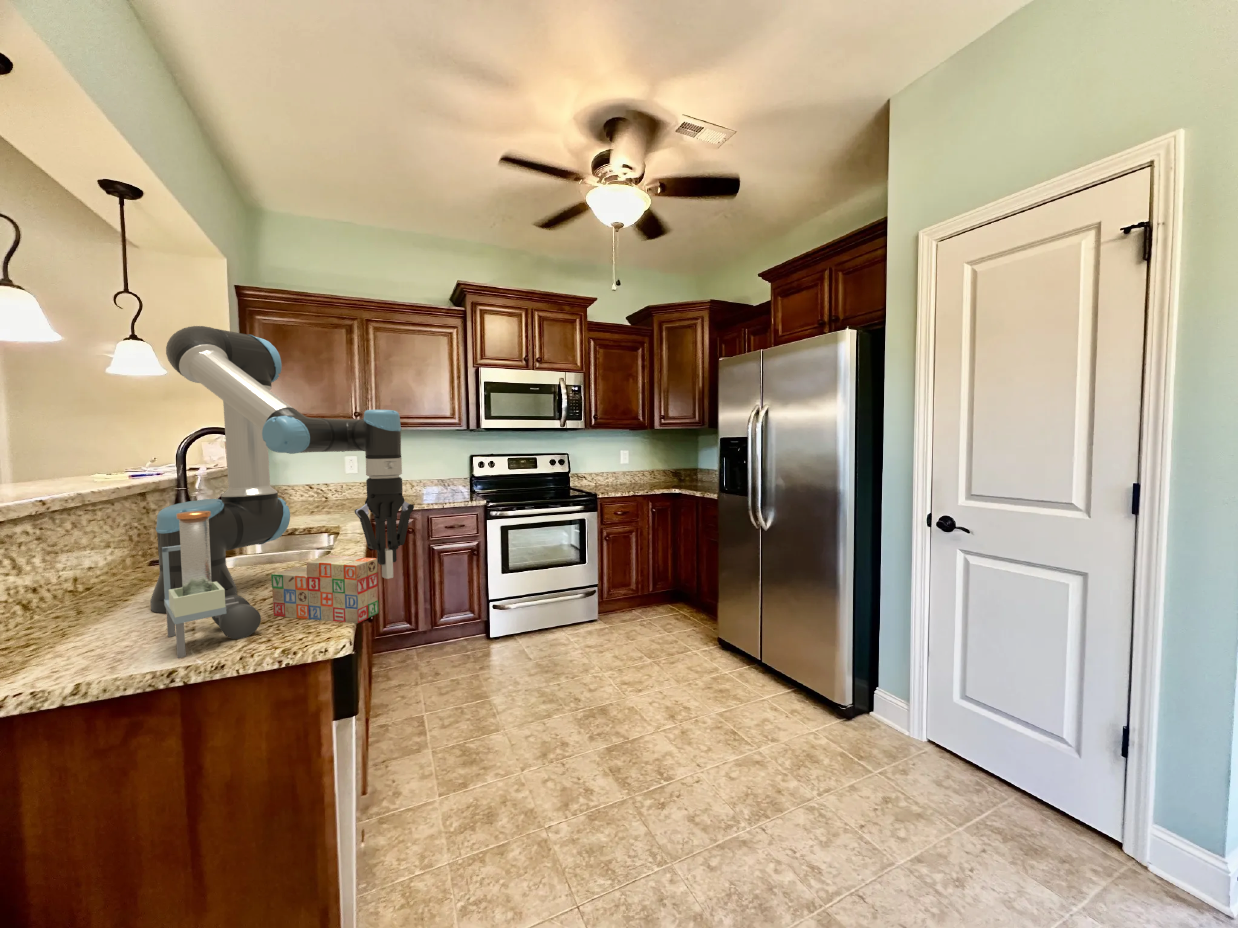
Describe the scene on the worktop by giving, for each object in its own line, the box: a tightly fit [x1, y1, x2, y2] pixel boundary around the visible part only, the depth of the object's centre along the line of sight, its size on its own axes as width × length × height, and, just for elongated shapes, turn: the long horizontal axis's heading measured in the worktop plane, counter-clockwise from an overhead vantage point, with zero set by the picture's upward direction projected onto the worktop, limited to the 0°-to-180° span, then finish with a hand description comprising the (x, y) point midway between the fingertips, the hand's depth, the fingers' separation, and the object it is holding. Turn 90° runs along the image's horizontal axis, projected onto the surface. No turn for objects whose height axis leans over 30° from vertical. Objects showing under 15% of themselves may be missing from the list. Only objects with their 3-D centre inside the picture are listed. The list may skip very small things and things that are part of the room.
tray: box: [169, 581, 225, 618], centre depth 88 cm, size 8×7×3 cm
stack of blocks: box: [270, 555, 379, 624], centre depth 104 cm, size 21×6×12 cm, turn 78°
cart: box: [162, 545, 262, 659], centre depth 93 cm, size 15×12×17 cm
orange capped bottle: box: [177, 511, 212, 596], centre depth 88 cm, size 5×5×17 cm
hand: (387, 577), depth 114 cm, fingers closed
